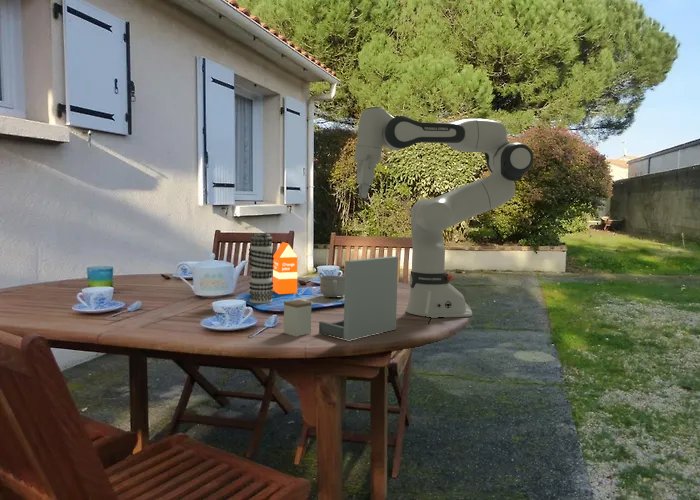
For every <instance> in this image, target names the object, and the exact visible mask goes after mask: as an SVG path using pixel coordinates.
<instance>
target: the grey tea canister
mask: <svg viewBox="0 0 700 500" xmlns="http://www.w3.org/2000/svg"><path fill="white" fill-rule="evenodd" d="M309 333H310V334H311V333H312V302H309V301H307V300H306V301H305V300H302V299H296V300H295V299H294V300H289V301H284V302H283V334H286V335H290V336H293V337H301V336H305V334H306V335H309ZM300 335H301V336H300Z"/></svg>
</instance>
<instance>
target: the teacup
mask: <svg viewBox="0 0 700 500" xmlns="http://www.w3.org/2000/svg"><path fill="white" fill-rule="evenodd" d="M319 277H320V281H319V283H320V284H319V288H320V289H319V291H320V293H321V294H322V295H323V296H324V297H325V298H329V297H337V296H342V297H344V296H345V276H342V275H328V274H326V275H321V276H319Z"/></svg>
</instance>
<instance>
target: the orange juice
mask: <svg viewBox="0 0 700 500" xmlns="http://www.w3.org/2000/svg"><path fill="white" fill-rule="evenodd" d="M272 257H273V258H274V259H273V260H272V263H274V265H272V267H273V268H274V269H273V270H272V282H273V285H272V287H273V289H272V291H273V292H275V293H276V294H278V295H286V294H287V295H288V294H298V256H297V254H296V252H295V251H294V250H293V247H291V245H290V244H289V243H288V242H286V241H285V242H284V241H282V242H281V244H280V245H279V247H278V248H277V250H276V251H275V253H274V255H273V256H272Z"/></svg>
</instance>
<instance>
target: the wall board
mask: <svg viewBox="0 0 700 500" xmlns="http://www.w3.org/2000/svg"><path fill="white" fill-rule="evenodd" d="M344 263H345V264H344V267H345V268H344V277H345V295H344V297H343V299H344V305H343V306H344V307H343V310H344V311H343V320H339V321H333V322H325V321H319V322H318V323H319V324H318V334H319V333H322V334H321V335H323V334H326V335H331V336H335V337H339V338H343V339H347V340H351V339H355V338H359V337H363V336H367V335H372V334H376V333H381V332H386V331H391V330H395V329H396V330H397V304H398V300H397V299H398V273H399V272H398V271H399V270H398V269H399V256H393V255H392V256H385V257H373V258H372V257H371V258H363V259H353V260H346V261H344ZM396 330H395V331H396ZM391 332H392V331H391ZM326 335H325V336H326Z"/></svg>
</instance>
